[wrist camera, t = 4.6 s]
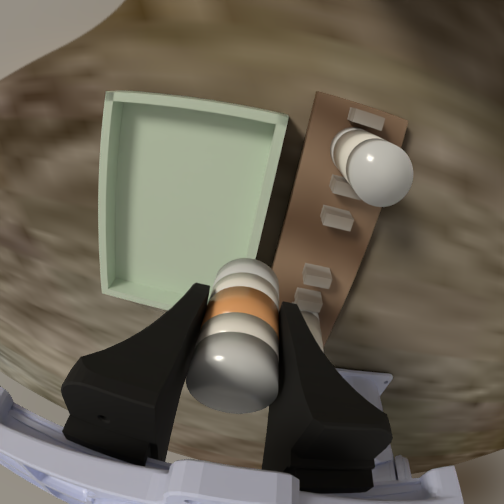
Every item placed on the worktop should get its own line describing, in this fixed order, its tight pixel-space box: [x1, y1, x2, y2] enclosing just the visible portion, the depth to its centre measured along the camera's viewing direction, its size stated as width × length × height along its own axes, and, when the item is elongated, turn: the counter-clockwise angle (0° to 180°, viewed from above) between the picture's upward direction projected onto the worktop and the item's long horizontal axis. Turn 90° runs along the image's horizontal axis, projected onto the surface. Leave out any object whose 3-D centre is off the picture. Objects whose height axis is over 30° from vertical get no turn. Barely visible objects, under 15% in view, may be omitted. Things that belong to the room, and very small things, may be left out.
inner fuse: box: [292, 302, 324, 353], centre depth 22 cm, size 3×3×6 cm
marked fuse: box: [186, 258, 279, 414], centre depth 12 cm, size 3×3×6 cm
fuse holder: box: [271, 92, 408, 347], centre depth 21 cm, size 19×6×2 cm, turn 169°
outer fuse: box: [330, 127, 413, 207], centre depth 16 cm, size 3×3×6 cm
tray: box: [98, 90, 289, 310], centre depth 21 cm, size 15×11×2 cm
